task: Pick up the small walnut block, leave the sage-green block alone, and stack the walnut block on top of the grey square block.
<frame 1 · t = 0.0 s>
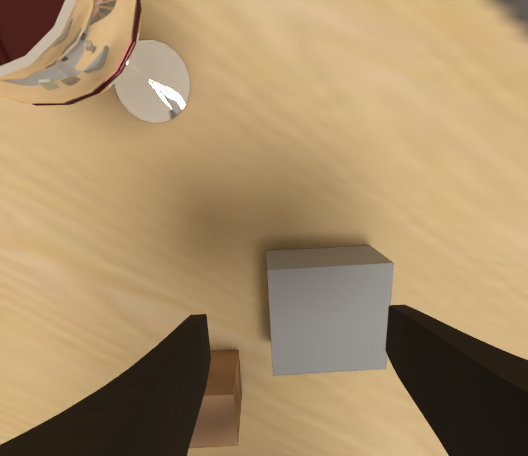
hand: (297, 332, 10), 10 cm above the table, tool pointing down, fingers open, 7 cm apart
grey square block: (317, 293, 21), on the table
wineglass: (153, 83, 17), on the table
walnut block: (214, 372, 23), on the table
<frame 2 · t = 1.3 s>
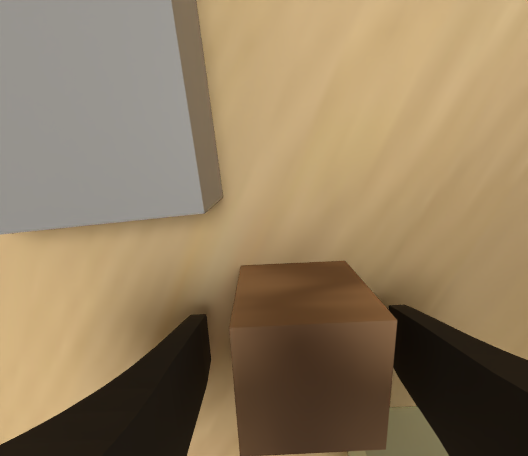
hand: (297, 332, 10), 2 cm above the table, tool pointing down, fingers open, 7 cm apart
grey square block: (105, 102, 10), on the table
sage-green block: (390, 440, 14), on the table
walnut block: (293, 308, 12), on the table
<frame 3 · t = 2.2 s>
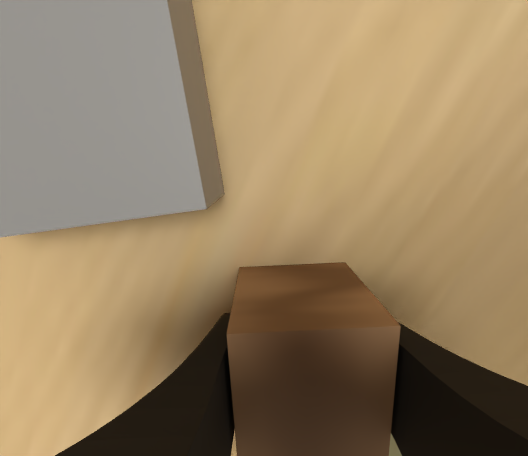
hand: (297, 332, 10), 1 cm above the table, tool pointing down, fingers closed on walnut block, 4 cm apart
grey square block: (101, 101, 10), on the table
walnut block: (293, 312, 12), on the table, touching gripper
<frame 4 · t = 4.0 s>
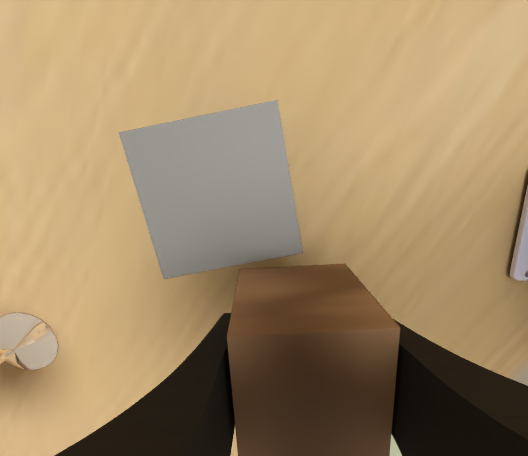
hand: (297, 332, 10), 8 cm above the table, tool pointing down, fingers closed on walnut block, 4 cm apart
grey square block: (225, 189, 18), on the table
wineglass: (26, 340, 20), on the table
walnut block: (293, 313, 12), point 7 cm above the table, touching gripper
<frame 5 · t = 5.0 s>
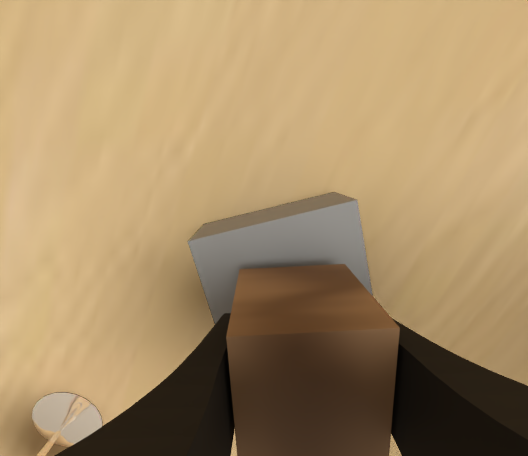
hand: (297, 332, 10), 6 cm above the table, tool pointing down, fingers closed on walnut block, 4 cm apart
grey square block: (282, 267, 17), on the table
wineglass: (69, 418, 19), on the table
walnut block: (293, 313, 12), point 5 cm above the table, touching gripper
when the fingers open (6 cm above the table, at t = 5.7 s): walnut block drops 1 cm, resting on grey square block.
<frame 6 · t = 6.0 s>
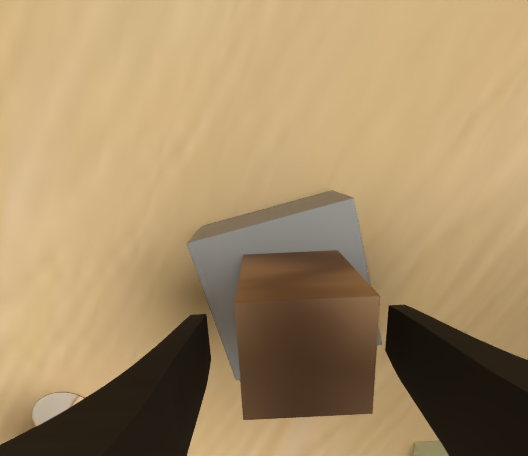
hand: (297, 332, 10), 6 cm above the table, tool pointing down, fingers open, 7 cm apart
grey square block: (282, 266, 17), on the table, touching walnut block
wineglass: (69, 417, 19), on the table
walnut block: (291, 295, 13), point 4 cm above the table, touching grey square block
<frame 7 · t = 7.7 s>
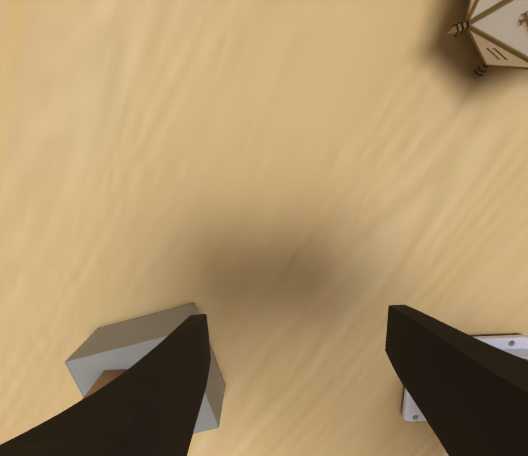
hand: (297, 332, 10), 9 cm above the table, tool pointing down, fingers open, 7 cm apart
grey square block: (165, 354, 22), on the table
game die: (487, 26, 16), on the table
walnut block: (143, 396, 18), point 4 cm above the table
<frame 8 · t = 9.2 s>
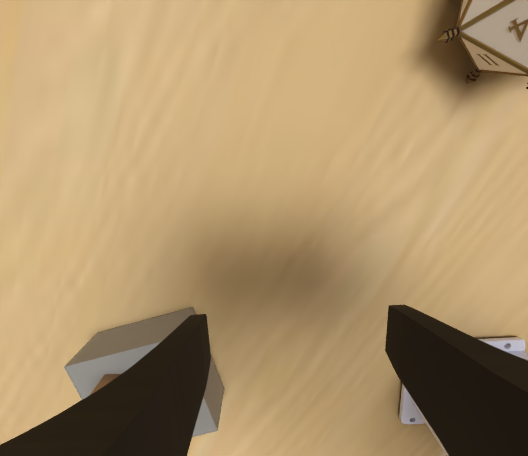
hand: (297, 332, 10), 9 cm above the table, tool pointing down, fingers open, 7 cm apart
grey square block: (164, 358, 22), on the table, touching walnut block
game die: (479, 31, 16), on the table
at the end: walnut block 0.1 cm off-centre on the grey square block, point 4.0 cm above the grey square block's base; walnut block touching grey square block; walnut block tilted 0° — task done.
